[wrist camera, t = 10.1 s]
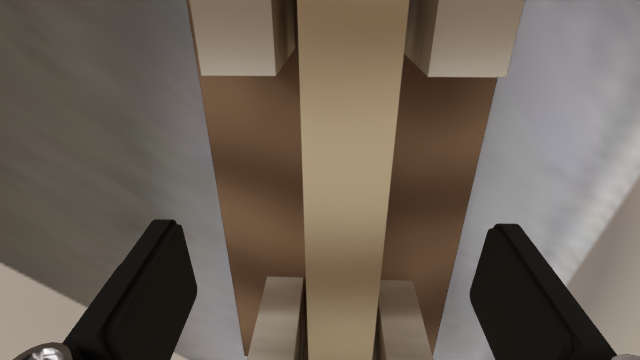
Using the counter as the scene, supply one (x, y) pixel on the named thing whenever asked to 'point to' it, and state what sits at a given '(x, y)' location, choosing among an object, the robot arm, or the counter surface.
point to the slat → (347, 163)
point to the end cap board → (286, 161)
